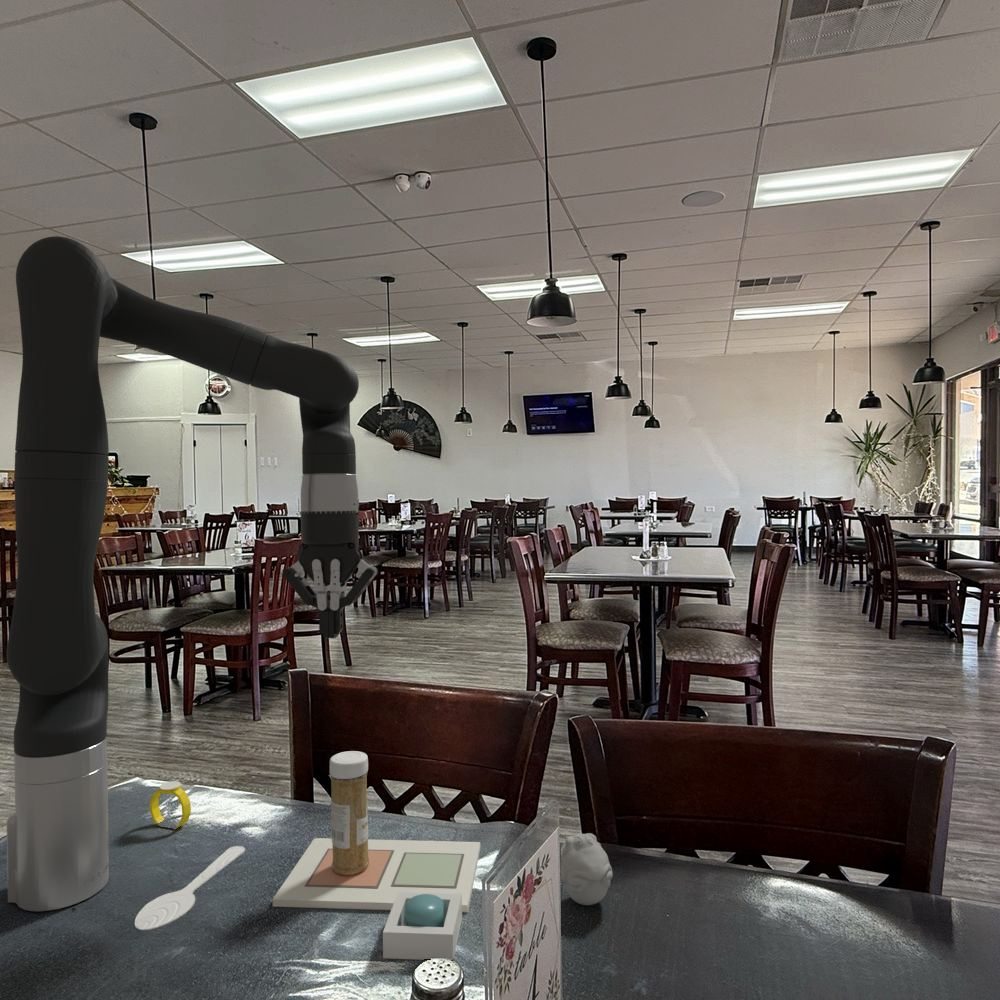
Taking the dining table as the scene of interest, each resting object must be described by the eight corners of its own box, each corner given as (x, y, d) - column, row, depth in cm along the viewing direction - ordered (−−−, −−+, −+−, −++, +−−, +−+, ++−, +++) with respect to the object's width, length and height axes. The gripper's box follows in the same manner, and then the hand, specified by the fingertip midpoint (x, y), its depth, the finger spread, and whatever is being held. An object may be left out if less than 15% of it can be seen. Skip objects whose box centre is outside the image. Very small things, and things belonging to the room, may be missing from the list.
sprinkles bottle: (375, 869, 84) (373, 757, 84) (338, 881, 82) (337, 766, 81) (360, 853, 88) (359, 746, 88) (325, 864, 85) (324, 754, 85)
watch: (194, 826, 98) (196, 785, 98) (179, 836, 96) (181, 793, 95) (160, 818, 100) (161, 777, 100) (144, 827, 97) (146, 785, 97)
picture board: (272, 906, 78) (272, 898, 78) (314, 844, 92) (314, 837, 92) (467, 912, 77) (467, 904, 77) (480, 848, 91) (480, 841, 91)
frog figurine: (596, 879, 83) (595, 820, 83) (624, 912, 76) (623, 849, 76) (548, 888, 81) (548, 828, 81) (573, 923, 74) (572, 858, 74)
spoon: (259, 851, 91) (259, 847, 91) (162, 936, 74) (162, 931, 74) (222, 846, 92) (222, 842, 92) (119, 929, 75) (119, 924, 75)
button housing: (383, 958, 69) (382, 932, 69) (398, 915, 76) (398, 892, 76) (453, 960, 69) (452, 934, 69) (462, 917, 76) (461, 894, 76)
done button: (401, 937, 71) (400, 916, 71) (409, 914, 75) (408, 893, 75) (440, 939, 70) (440, 917, 70) (446, 915, 74) (445, 894, 74)
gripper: (270, 509, 90) (272, 643, 91) (371, 508, 90) (372, 643, 90) (292, 508, 98) (293, 631, 98) (384, 507, 97) (386, 631, 97)
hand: (331, 637), depth 94 cm, fingers closed
